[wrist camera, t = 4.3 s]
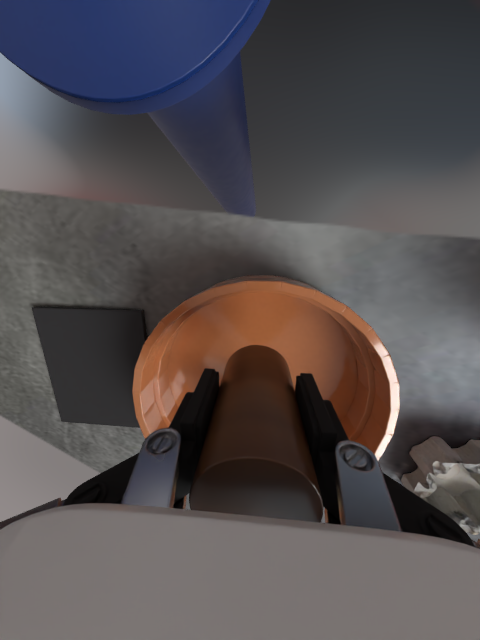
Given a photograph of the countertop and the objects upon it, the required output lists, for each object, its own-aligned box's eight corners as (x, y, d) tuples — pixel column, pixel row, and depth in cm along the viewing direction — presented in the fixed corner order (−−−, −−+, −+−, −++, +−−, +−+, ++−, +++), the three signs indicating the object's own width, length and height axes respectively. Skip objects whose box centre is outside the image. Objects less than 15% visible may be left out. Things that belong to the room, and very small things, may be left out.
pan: (149, 272, 18) (114, 278, 14) (386, 276, 16) (432, 283, 12) (168, 451, 23) (147, 496, 19) (350, 466, 21) (372, 519, 17)
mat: (35, 306, 20) (31, 307, 19) (143, 309, 19) (141, 310, 18) (64, 419, 23) (61, 421, 23) (157, 426, 22) (155, 429, 22)
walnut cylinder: (224, 343, 13) (184, 452, 6) (292, 345, 13) (332, 463, 6) (225, 399, 14) (192, 544, 7) (287, 403, 14) (315, 558, 7)
